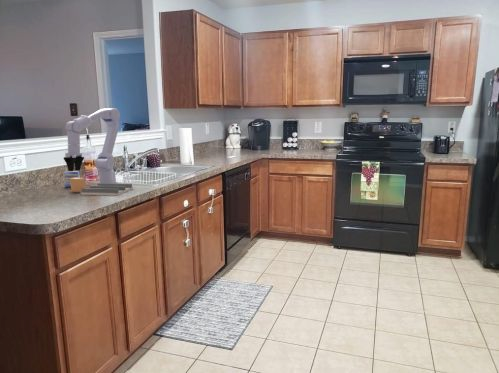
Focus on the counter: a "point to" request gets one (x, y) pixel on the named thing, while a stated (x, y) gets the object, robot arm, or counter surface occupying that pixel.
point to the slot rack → (106, 189)
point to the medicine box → (70, 175)
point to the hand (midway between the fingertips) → (74, 170)
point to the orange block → (77, 184)
